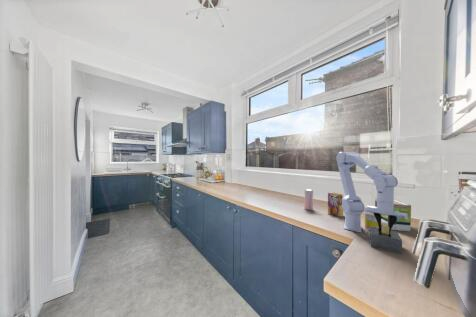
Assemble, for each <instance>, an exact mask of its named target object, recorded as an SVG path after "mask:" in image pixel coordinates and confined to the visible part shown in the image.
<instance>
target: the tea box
mask: <svg viewBox="0 0 476 317" xmlns="http://www.w3.org/2000/svg"><path fill="white" fill-rule="evenodd" d="M374 199H375V201H374V204H375V205H374V206H375V207H377V197H375V198H374ZM393 211H396V212H401V213H406V214H407V215H408V218H407V219H404V218H400V217H397V221H396V222H395V223H394V225H393V226H392V229H391V230H392V231H399V232H401V231H402V232H411V227H412V226H411V223H412V222H411V221H412V220H411V219H412V205H411V204H410V203H409V204H408V203H405V202H402V201H400V200H396V199H394V206H393ZM381 217H382V218H381V222H384V223H388V216H387V215H381Z"/></svg>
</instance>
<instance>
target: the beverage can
mask: <svg viewBox="0 0 476 317" xmlns="http://www.w3.org/2000/svg"><path fill="white" fill-rule="evenodd" d="M304 209H305V210H306V211H312V210H313V209H314V190H313V189H309V188H306V189H305V190H304Z"/></svg>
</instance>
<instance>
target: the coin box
mask: <svg viewBox="0 0 476 317" xmlns="http://www.w3.org/2000/svg"><path fill="white" fill-rule="evenodd" d="M369 243H370V246H371V248H375V249H378V250H381V251H385V252H389V253H394V254H399V255H402V254H403V239H402V238H401V236H400V234H399V233H398V230H391V232H389V236H385V235H380V230H379V228H376V227H371V226H370V230H369Z"/></svg>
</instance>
